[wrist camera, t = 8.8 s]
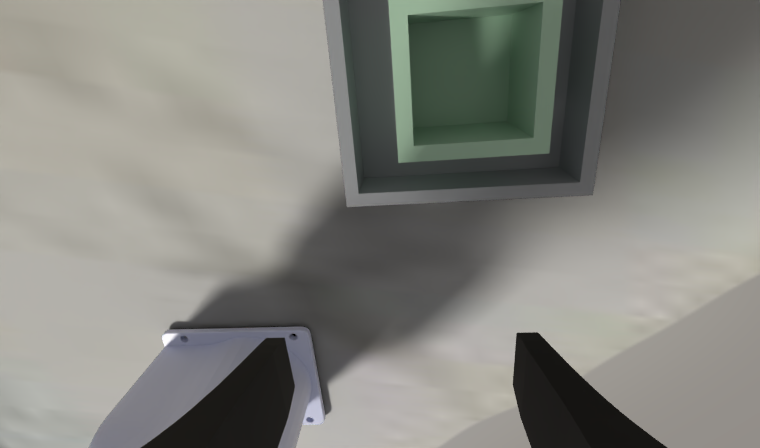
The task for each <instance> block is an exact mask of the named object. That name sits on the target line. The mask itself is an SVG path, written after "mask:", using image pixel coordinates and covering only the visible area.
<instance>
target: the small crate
mask: <svg viewBox="0 0 760 448" xmlns="http://www.w3.org/2000/svg"><path fill="white" fill-rule="evenodd" d="M388 3H389V19H390V35H391V51H392V67H393V83H394V99H395V115H396V131H397V147H398V163H405V162H421V161H437V160H453V159H469V158H485V157H501V156H517V155H533V154H549V151H550V140H551V129H552V118H553V107H554V96H555V85H556V73H557V62H558V51H559V40H560V29H561V18H562V7H563V0H388Z"/></svg>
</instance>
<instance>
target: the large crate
mask: <svg viewBox="0 0 760 448" xmlns="http://www.w3.org/2000/svg"><path fill="white" fill-rule="evenodd" d="M620 3H621V0H563V7H562V18H561V29H560V40H559V51H558V62H557V73H556V85H555V96H554V107H553V118H552V129H551V140H550V151H549V154H533V155H517V156H501V157H485V158H469V159H453V160H437V161H421V162H405V163H398V147H397V131H396V115H395V99H394V83H393V67H392V51H391V35H390V19H389V3H388V0H323V7H324V16H325V24H326V33H327V42H328V50H329V59H330V67H331V76H332V85H333V93H334V102H335V110H336V119H337V128H338V136H339V145H340V154H341V162H342V171H343V179H344V188H345V197H346V205H347V207H359V206H380V205H400V204H420V203H441V202H461V201H481V200H502V199H522V198H542V197H563V196H583V195H593V191H594V184H595V177H596V170H597V163H598V156H599V149H600V142H601V135H602V128H603V121H604V114H605V107H606V100H607V93H608V86H609V79H610V72H611V65H612V58H613V51H614V45H615V38H616V31H617V24H618V17H619V10H620Z"/></svg>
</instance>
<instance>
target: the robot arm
mask: <svg viewBox="0 0 760 448" xmlns="http://www.w3.org/2000/svg"><path fill="white" fill-rule="evenodd" d="M292 333H293V334H296V335H297V336H293V335H292ZM184 336H186V337H187V338H186V337H184ZM162 341H163V343H164V346H165V347H164V349H163V350H162V351H161V352H160V353H159V355H158V356H157V357H156V358H155V359H154V361H153V362H152V363H151V364H150V365H149V367H148V368H147V369H146V370H145V371H144V373H143V374H142V375H141V376H140V377H139V379H138V380H137V381H136V382H135V383H134V385H133V386H132V387H131V388H130V389H129V391H128V392H127V393H126V394H125V396H124V397H123V398H122V399H121V400H120V402H119V403H118V404H117V405H116V406H115V408H114V409H113V410H112V411H111V412H110V414H109V415H108V416H107V417H106V418H105V420H104V421H103V423H102V424H101V425H100V427H99V429H98V430H97V432H96V434H95V435H94V437H93V439H92V442H91V444H90V446H89V448H296V445H297V441H298V438H299V434H300V431H301V427H302V425H319V424H322V423H323V422H324V421H325V411H324V405H323V400H322V394H321V388H320V383H319V377H318V372H317V366H316V360H315V355H314V349H313V344H312V338H311V333H310V330H309V329H308V328H306V327H260V328H216V329H171V330H167V331H165V332H164V334H163V335H162ZM513 387H514V392H515V396H516V400H517V404H518V408H519V412H520V416H521V420H522V423H523V425H524V428H525V431H526V433H527V436H528V439H529V442H530V445H531V448H667V447H666V446H664V445H663V444H661V443H660V442H659V441H657V440H656V439H655V438H653V437H652V436H651V435H649V434H648V433H647V432H645V431H644V430H643V429H641V428H640V427H639V426H637V425H636V424H635V423H634V422H632V421H631V420H629V418H627V417H626V416H625V415H624V414H622V413H621V412H620V411H619V410H618V409H616V408H615V407H614V406H613V405H612V404H611V403H609V402H608V401H607V400H606V399H605V398H604V397H603V396H602V395H600V394H599V393H598V392H597V391H596V390H595V389H594V388H593V387H592V386H591V385H589V383H588V382H586V381H585V380H584V379H583V378H582V377H581V376H580V375H579V374H578V373H577V372H576V371H575V370H574V369H573V368H572V367H571V366H570V365H569V364H568V363H567V362H566V361H565V360H564V359H563V358H562V357H561V356H560V355H559V354H558V353H557V352H556V351H555V350H554V349H553V348H552V347H551V346H550V345H549V343H548V342H547V341H546V340H545V339H544V338H543V337H542V336H541V335H540V334H539V333H517V336H516V350H515V363H514V376H513ZM310 417H311V418H310Z"/></svg>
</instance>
